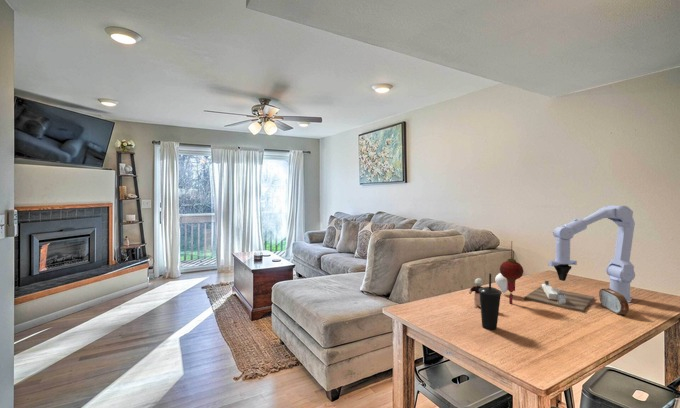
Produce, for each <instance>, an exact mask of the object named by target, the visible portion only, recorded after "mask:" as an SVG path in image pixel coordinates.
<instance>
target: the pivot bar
mask: <svg viewBox="0 0 680 408" xmlns="http://www.w3.org/2000/svg"><path fill="white" fill-rule="evenodd" d="M541 287H542V290H544V292H545V293H546V295H547V297H548V298H549V299H554V300H557V295H556V294H555V293H554V292H553V291H552V290H551V288H553V287H552V285H551V284H550V283H549V285H546V284H545V283H541Z"/></svg>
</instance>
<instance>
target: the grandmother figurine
mask: <svg viewBox="0 0 680 408" xmlns="http://www.w3.org/2000/svg"><path fill="white" fill-rule="evenodd" d="M483 282H484V281H483V279H482V278H480V277H478V278H475V280H474V284H475V286H472V287H471V288H470V289H469V292H468V293H469V295H471V294H472V293H473V292H474V295H473V296H474V299H473V300H474V306H473V307H474V308H476V309H477V308H478V309H479V308H480V309H481V305H480V292H479V289H480V288H483V287H484V286H483Z"/></svg>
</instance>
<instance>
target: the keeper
mask: <svg viewBox="0 0 680 408" xmlns="http://www.w3.org/2000/svg"><path fill="white" fill-rule="evenodd" d="M551 290H552V291H553V292H554V293H555V294H556V295H557V303H559V304H563V305H566V295H565V294H563V293H562V292H561V291H560V289H558V288H553V287H552V288H551Z"/></svg>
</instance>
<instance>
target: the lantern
mask: <svg viewBox="0 0 680 408" xmlns="http://www.w3.org/2000/svg"><path fill="white" fill-rule="evenodd" d="M510 246H511V247H510V248H511V255H510V256H511V258H506V259H507V260H506V261H503V262H502V263H500V266H499V273H501V274H502V276H503V277H505V278H506V279H507V291H508V292H510V293H509V297H508V298H509V300H508V301H509V302H508V303H509V305H513V292H515V291H516V280H518V279H521V278H522V276H523V275H524V268H523V266H522V264H521V263H519V262H517V260H516V259H514V258H513V242H511V245H510Z"/></svg>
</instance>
